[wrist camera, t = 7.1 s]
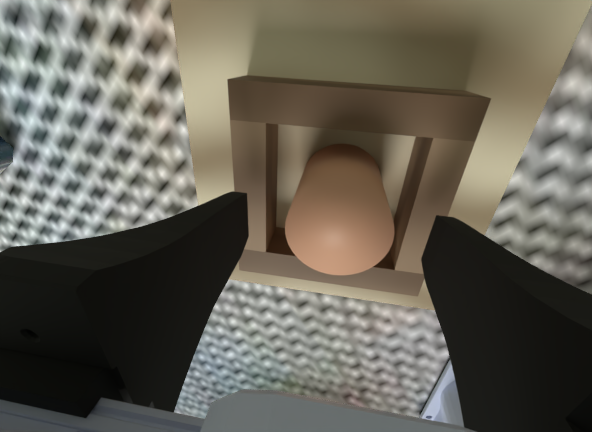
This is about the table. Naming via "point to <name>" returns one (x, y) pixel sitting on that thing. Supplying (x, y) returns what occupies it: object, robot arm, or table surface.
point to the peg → (340, 212)
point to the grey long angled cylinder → (5, 154)
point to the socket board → (366, 113)
